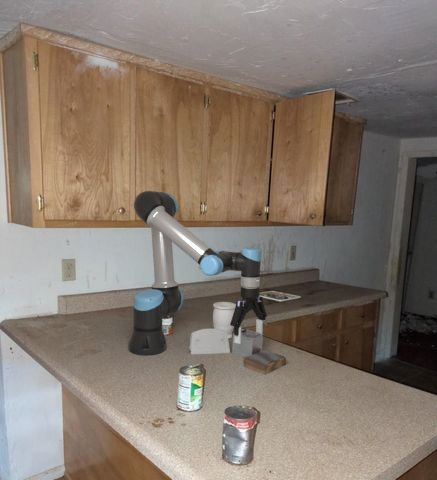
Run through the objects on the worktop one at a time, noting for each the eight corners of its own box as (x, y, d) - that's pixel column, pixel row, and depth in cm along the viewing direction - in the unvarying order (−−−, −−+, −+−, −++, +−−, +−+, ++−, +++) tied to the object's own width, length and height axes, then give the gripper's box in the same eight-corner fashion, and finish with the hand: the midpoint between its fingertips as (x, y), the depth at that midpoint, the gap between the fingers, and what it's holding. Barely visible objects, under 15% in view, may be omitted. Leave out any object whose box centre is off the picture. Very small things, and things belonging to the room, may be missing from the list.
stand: (264, 374, 136) (265, 365, 136) (243, 366, 143) (243, 357, 143) (285, 364, 146) (285, 356, 146) (264, 357, 153) (264, 349, 152)
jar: (219, 331, 183) (220, 300, 181) (238, 335, 178) (240, 303, 176) (207, 337, 174) (208, 304, 172) (227, 341, 168) (228, 308, 167)
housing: (251, 361, 149) (252, 334, 148) (232, 353, 155) (233, 328, 155) (261, 356, 153) (263, 330, 152) (242, 349, 160) (243, 324, 159)
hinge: (190, 354, 153) (189, 328, 155) (188, 354, 157) (188, 329, 160) (230, 352, 156) (230, 327, 158) (228, 352, 160) (227, 328, 163)
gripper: (236, 292, 140) (235, 349, 142) (276, 284, 158) (274, 334, 160) (221, 289, 146) (220, 343, 147) (261, 281, 164) (260, 330, 165)
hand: (248, 339), depth 154 cm, fingers open, 13 cm apart
